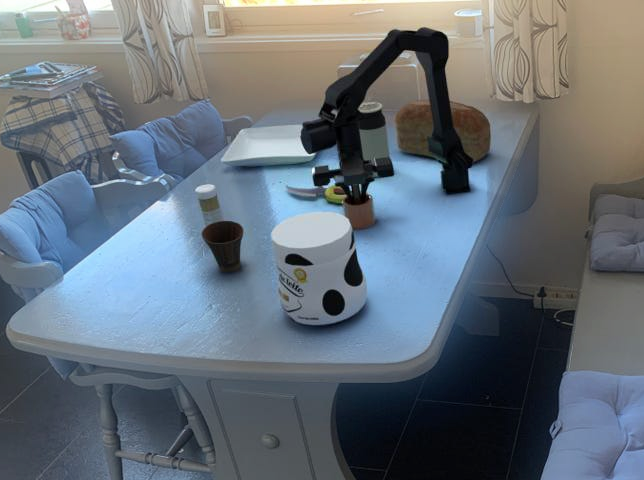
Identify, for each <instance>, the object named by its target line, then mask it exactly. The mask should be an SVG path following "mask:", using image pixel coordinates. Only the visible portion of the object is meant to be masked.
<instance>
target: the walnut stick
mask: <svg viewBox="0 0 644 480" xmlns="http://www.w3.org/2000/svg"><path fill="white" fill-rule="evenodd" d="M350 190H351V191H352V197H353V202H354V205H359V204H362V200H361V193H360V191H361V185H360V184H355V185H351V186H350Z"/></svg>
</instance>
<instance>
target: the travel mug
mask: <svg viewBox="0 0 644 480" xmlns="http://www.w3.org/2000/svg"><path fill="white" fill-rule="evenodd" d="M383 107H384V105H383V104H382V103H380V102H376V101H367V102H362V104H361V105H360V107H359V108H358V109H359V111H360V112H361V113H362V114H364V115H366V116H367V118H366V119H364V120H361V121H358V123H359V131H360V138H361V145H362V152H363V159H364V160H371V163H372V164H375V160H374V159H377V158H385V157H389V158H390V159H391V156H390V148H389V138H388V131H387V124H386V123H387V122H386V117H385V115H384V113H383V111H382V110H383ZM373 176H374V178H380V177H379V176H378V175H377V172H375V173H374V175H373Z"/></svg>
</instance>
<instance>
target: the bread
mask: <svg viewBox="0 0 644 480" xmlns="http://www.w3.org/2000/svg"><path fill="white" fill-rule="evenodd" d="M450 106H451V113H452V120H453V126H454V128H455V130H456V132H457V133H458V135H459V137H460V139H461V142H462V145H463V148H464V152H465V153H466V154H467V155H469V156H470V157H471V158H473V163H475V162H478V161H480V160H481V159H483V158H484V157H485V156H486V155H487V154H488V153H489V152H490V149H491V141H492V136H491V135H492V134H491V123H490V121H489V119H488V117H487V116H486V115H485V113H484V112H483V111H481V110H480V109H478V108H476V107H474V106H471V105H467V104H464V103H461V102H455V101H452V100H450ZM394 125H395V135H396V143H397V144H396V145H397V147H398V149H399V150H400V151H402V152H403V153H406V154H411V155H421V156H426V157H430V158H434V157H433V156H432V153H431V152H429V144H428V141H427V137H428V136H432V133H433V130H434V126H433V120H432V114H431V107H430V101H429V99H417V100H415V101H411V102H407V103H406V104H404V105H403V106H401V107H399V109H398V110H397V112H396V113H395V115H394Z"/></svg>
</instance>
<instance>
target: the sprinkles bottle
mask: <svg viewBox="0 0 644 480" xmlns="http://www.w3.org/2000/svg"><path fill="white" fill-rule="evenodd" d="M194 191H195V195H196V198H197V200H198V204H199V206H200V210H201V214H202V218H203V221H204V225H205V227H207V226H208V225H210V224H212V223H215V222H219V221H225V219H224V215H223V212H222V209H221V206H220V202H219V199H218V191H217V189H216V186H215V185H214V184H208V183H207V184H202V185H199V186H198V187H196V188H195V190H194Z"/></svg>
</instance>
